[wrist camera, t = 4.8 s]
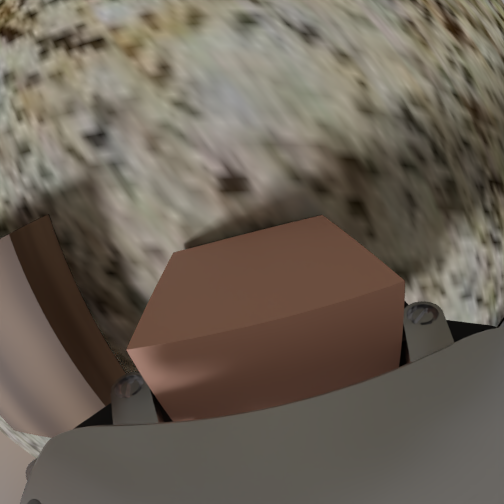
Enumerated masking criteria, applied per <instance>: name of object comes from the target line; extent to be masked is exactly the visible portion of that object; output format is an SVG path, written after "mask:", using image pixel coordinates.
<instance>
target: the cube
mask: <svg viewBox="0 0 504 504" xmlns="http://www.w3.org/2000/svg"><path fill="white" fill-rule="evenodd" d="M404 298H405V281H404V280H403V279H402V278H401V277H400V276H399V275H397V274H396V273H395V272H394V271H393V270H391V269H390V268H389V267H388V266H387V265H385V264H384V263H383V262H382V261H381V260H379V259H378V258H377V257H376V256H375V255H373V254H372V253H371V252H370V251H368V250H367V249H366V248H365V247H363V246H362V245H361V244H360V243H358V242H357V241H356V240H355V239H353V238H352V237H351V236H349V235H348V234H347V233H346V232H344V231H343V230H342V229H340V228H339V227H338V226H336V225H335V224H334V223H332V222H331V221H330V220H328V219H327V218H326V217H324V216H323V215H320V216H316V217H312V218H308V219H303V220H299V221H295V222H291V223H287V224H283V225H279V226H275V227H271V228H267V229H263V230H259V231H255V232H251V233H247V234H243V235H239V236H235V237H231V238H228V239H224V240H220V241H216V242H212V243H208V244H204V245H201V246H197V247H193V248H189V249H186V250H182V251H178V252H174V253H173V255H172V257H171V258H170V260H169V262H168V264H167V266H166V268H165V270H164V272H163V274H162V276H161V278H160V280H159V282H158V284H157V286H156V288H155V290H154V292H153V294H152V296H151V298H150V300H149V302H148V304H147V306H146V308H145V310H144V312H143V314H142V316H141V318H140V321H139V323H138V325H137V327H136V329H135V331H134V333H133V336H132V338H131V340H130V342H129V344H128V347H127V349H126V350H127V352H128V354H129V355H130V357H131V359H132V361H133V362H134V364H135V365H136V367H137V369H138V370H139V372H140V374H141V375H142V377H143V378H144V380H145V381H146V383H147V385H148V386H149V388H150V389H151V391H152V392H153V394H154V395H155V397H156V398H157V400H158V401H159V402H160V404H161V405H162V407H163V408H164V410H165V411H166V412H167V414H168V415H169V417H170V418H171V419H172V421H173V422H176V421H186V420H195V419H204V418H211V417H218V416H225V415H231V414H237V413H243V412H248V411H253V410H259V409H263V408H268V407H273V406H277V405H282V404H286V403H290V402H294V401H298V400H302V399H306V398H309V397H313V396H317V395H320V394H324V393H327V392H330V391H334V390H337V389H340V388H343V387H346V386H349V385H353V384H356V383H358V382H361V381H364V380H367V379H370V378H373V377H375V376H378V375H381V374H383V373H386V372H388V371H391V370H393V369H396V368H398V367H399V363H400V354H401V344H402V333H403V319H404Z"/></svg>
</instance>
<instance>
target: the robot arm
mask: <svg viewBox="0 0 504 504" xmlns="http://www.w3.org/2000/svg"><path fill="white" fill-rule="evenodd" d="M26 478H27V483H26V486H25V489H24V492H23V495H22V498H21V502H20V504H504V321H503V322H502V324H501V325H500V326H499V328H497V327H495V326H490V325H482V324H474V323H465V322H458V321H450V320H446V319H445V316H444V313H443V311H442V310H441V308H440V307H439V306H437V305H436V304H433V303H431V302H425V301H424V302H415V303H412V304H410V305H408V304H407V303H406V302H405V301H404V319H403V333H402V344H401V354H400V363H399V367H398V368H396V369H393V370H391V371H388V372H386V373H383V374H381V375H378V376H375V377H373V378H370V379H367V380H364V381H361V382H358V383H356V384H353V385H349V386H346V387H343V388H340V389H337V390H334V391H330V392H327V393H324V394H320V395H317V396H313V397H309V398H306V399H302V400H298V401H294V402H290V403H286V404H282V405H277V406H273V407H268V408H263V409H259V410H253V411H248V412H243V413H237V414H231V415H225V416H218V417H211V418H204V419H195V420H186V421H176V422H173V421H172V419H171V418H170V417H169V415H168V414H167V412H166V411H165V410H164V408H163V407H162V405H161V404H160V402H159V401H158V400H157V398H156V397H155V395H154V394H153V392H152V391H151V389H150V388H149V386H148V385H147V383H146V381H145V380H144V378H143V377H142V375H141V374H140V372H131V373H127V374H125V375H123V376H121V377H120V378H119V379H117V380H116V382H115V383H114V384H113V386H112V388H111V403H110V404H108V405H107V406H105V407H104V408H103V409H101V410H100V411H98V412H97V413H95V414H94V415H92V416H91V417H90V418H88V419H87V420H85V421H84V422H82V423H81V424H79V425H78V426H76V427H75V428H74V429H72V430H69V431H66V432H63V433H60V434H58V435H56V436H54V437H53V438H51V439H50V440H49V441H48V442H47V443H46V445H45V446H44V447H43V449H42V451H41V452H40V454H39V456H38V458H36V459H35V460H33V461H32V462H31V463H30V464H29V465H28V467H27V470H26Z"/></svg>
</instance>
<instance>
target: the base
mask: <svg viewBox="0 0 504 504" xmlns="http://www.w3.org/2000/svg"><path fill="white" fill-rule="evenodd" d="M125 374H126V373H125V372H124V370H123V369H122V367H121V366H120V364H119V363H118V361H117V359H116V358H115V356H114V354H113V353H112V351H111V349H110V348H109V346H108V344H107V343H106V341H105V339H104V337H103V336H102V334H101V332H100V330H99V329H98V327H97V325H96V323H95V321H94V319H93V317H92V316H91V314H90V312H89V310H88V308H87V306H86V304H85V302H84V300H83V298H82V296H81V294H80V292H79V289H78V287H77V285H76V283H75V281H74V279H73V276H72V274H71V272H70V269H69V267H68V265H67V262H66V260H65V258H64V255H63V253H62V250H61V248H60V245H59V242H58V240H57V237H56V234H55V232H54V229H53V226H52V223H51V220H50V217H49V214H48V215H46V216H44V217H42V218H40V219H38V220H36V221H33V222H31V223H29V224H27V225H26V226H24V227H22V228H20V229H18V230H16V231H14V232H12V233H10V234H8V235H6V236H5V237H3V238H1V239H0V415H1V417H2V418H3V419H4V420H5V421H6V422H7V423H8V424H9V425H10V426H11V427H12V428H13V430H15V431H19V432H24V433H29V434H34V435H39V436H44V437H50V438H53V437H54V436H56V435H58V434H60V433H63V432H66V431H69V430H72V429H74V428H75V427H76V426H78V425H79V424H81V423H82V422H84V421H85V420H87V419H88V418H90V417H91V416H92V415H94V414H95V413H97V412H98V411H100V410H101V409H103V408H104V407H105V406H107V405H108V404H110V403H111V388H112V386H113V384H114V383H115V382H116V380H117V379H119V378H120V377H121V376H123V375H125Z"/></svg>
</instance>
